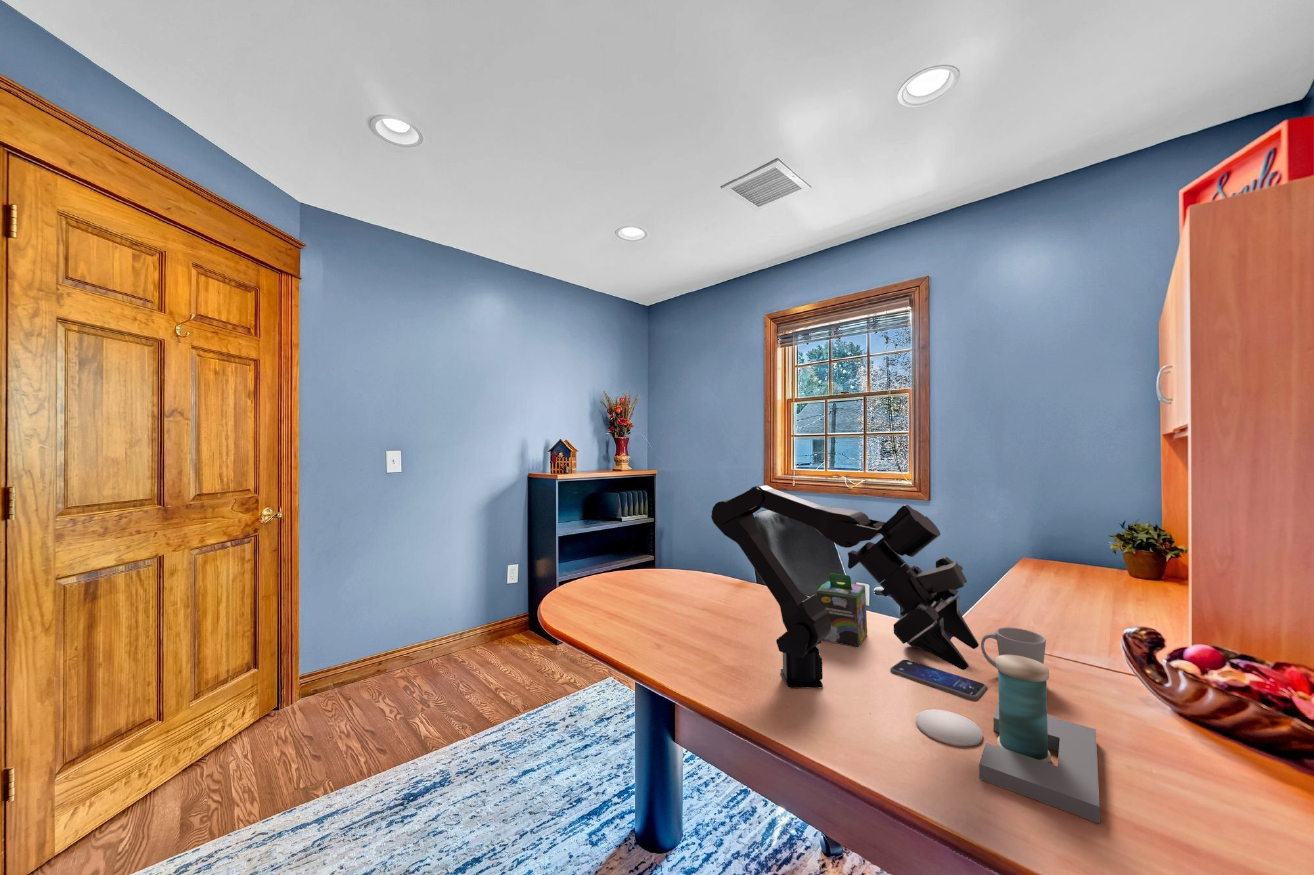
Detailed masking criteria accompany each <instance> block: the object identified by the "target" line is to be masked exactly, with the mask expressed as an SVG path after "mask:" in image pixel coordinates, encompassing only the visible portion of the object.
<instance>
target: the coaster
mask: <svg viewBox="0 0 1314 875" xmlns="http://www.w3.org/2000/svg"><path fill="white" fill-rule="evenodd" d="M915 724H916V726H917V728H918V729H919V730H921V732H923V733H924V734H925V735H926V736H928V737H930V738H931V739H933V740H936V741H938V742H941V743H944V744H947V745H951V746H956V747H973V746H977V745H979V744H980V743H981V742H982V741H983V731H982V729H981V728H980V726H979V725H978V724H976V723H975V721H973V720H970V719H969V718H967V717H965V716H963V715H960V714H958V713H955V712H952V711H948V710H944V709H943V710H942V709H933V708H932V709H925V710H922V711H919V712H918V713H917V714H916V715H915Z"/></svg>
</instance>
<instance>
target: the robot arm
mask: <svg viewBox="0 0 1314 875" xmlns="http://www.w3.org/2000/svg"><path fill="white" fill-rule="evenodd" d="M761 509H764V510H767V511H771V512H772V513H776V514H778V515H781V516H784V517H786V518H789V519H791V520H793V521H796V522H799V523H802V524H804V525H807V526H809V527H811V528H813V529H815V530H816V531H817V532H818V533H819V534H820V535H821V536H823V537H824V538H825V539H827V540H829V541H830V542H832V543H834V544H836V545H837V546H839V547H841V548H845V549H846V548H847V549H848V548H849V549H850V548H852V547H855V546H857V545H859V544H861V543H864V542H865V541H868V542H866V543H865V544H863V546H861V547H860V548H859V549H858V550H853V549H852V550H851V551H849V552H847V557H848V560H847V567H848V569H850V570H851V569H853V568H854V567H855V568H856V566H858V565H862V567H863V568H864V569H865V570H866V571H867V572H868V574H869V575H870V576H871V577H872V578H873V579H874V580H875V581H876V582H877V583H878V584H879V585H880V587H882V588H883V589H882V590H881V591H880V593H881V594H882V595H883V596H884V597H887V596H889V597H890V598H892V599H893V601H894V602H895V603H896V604H897V605H898V606H899V607H900V608H901V611H900V613H899V614H900V615H901V617H899V618H898V619H897V621H895V623H894V624H893V634H894V636H896V638H897V639H898V640H899V641H900V642H901V643H902V644H907V645H909V646H910V647H913V646H912V645H914V646H916V647H915V648H917V647H918V648H917V649H920V650H923V651H924V652H927V653H929V654H931V655H933V656H935V657H937V658H939V659H941V660H943V661H945V662H947V663H948V664H950V665H952V666H954V667H955V668H958V669H960V670H962V671H965V670H966V669H969V667H970V665H969V663H968V661H967V660H966V659H965V657H964V656H963V655H962V653H961V652H960V650H959V649H958V648H957V647H956V645H955V644H954V643H953V641H952V639H951V640H950V639H949V638H948V636H947V635H946V634H945V632H944V630H945V631H946V632H948V633H949V634H951V635H952V636H954V637H953V638H955V639H957V640H958V641H960V642H961V643H963V644H964V645H966V646H968V647H969V648H971V649H973V650H975V649H977V648H978V647H979V646H980V644H979V642H978V641H977V639H976V636H974V633H973V632H972V631H971V629H970V627H969V626H968V624H967V622H966V621H965V619H964V617H963V616H962V614H961V612H960V597H961V596H959V595H958V593H959V592H960V591H959V590H958V589H962V588H963V587H965V583H968V580H967V578H966V576H965V575H964V572H963V570H964V569H963V566H962V565H959V563H958V562H957V561H953V560H951V559H950V558H949V557H947V556H943V557H941V558H938V559H937V560H936V561H935V567H932V568H929V569H927V570H925V571H923V570H922V569H921V568H920V567H919V566H918V565H917V566H916V565H913V566H910V565H909V563H907V562H906V561H905V560H904V559H903V556H904V557H905V556H908V557H910V558H914V557H915V556H916V555H918V554H919V553H920V552H921V551H922V550H923V549H925V548H926V547H927V546H929V545H930V544H932V543H933V542H934V541H935V540H936V539H937V538H939V537H940V536H941V532H940V530H939V528H938V527H937V525H936V524H935V523H934V522H933V521H932V519H930V518H929V517H928V516H925V515H924V514H922V513H921V512H919V511H918V510H916V509H914V508H913V507H911V506H910V504H903V505H902V506H901V507H899V509H897V511H896V512H895V514H894V515H893V516H891V517H890V518H889V519H888V520H887V521H882V520H878V519H873V518H869V516H868V515H867V514H866V513H864V512H862V511H861V510H860V511H859V510H854V509H850V508H849V509H848V508H843V507H842V508H841V507H833V506H831V507H830V506H823V505H820V504H818V503H815V502H812V501H809V500H807V499H804V498H801V497H799V496H798V497H797V496H795V495H792V494H790V493H786V492H783V491H780V490H778V489H775V488H773V487H771V486H769V485H766V484H762V485H755V486H752V487H751V488H750V489H748V490H746V491H745V492H743V493H741V494H739V495H737V496H735V497H733V498H730V499H729V500H728V499H727V500H722V501H718V502H716V503H715V504H714V505H713V506H712V509H711V516H710V517H711V521H712V523H713V524H714V525H715V526H716V527H717V528H718V530H719V531H720V532H721V534H723V535H724V536H725V537H727V538H728V539H729V540H731V541H733V542H735V544H737V545H738V546H739V548H740V549H741V551H742V552H743V554H744V555H745V556H746V559H747V560H748V561H749V563H750V564H751V566H752V567H753V568H754V570H755V572H756V573H757V574H758V576H759V577H760V579H761V580H762V581H763V583H764V585H765V586H766V588H767V589H768V590H769V592H770V593H771V595H772V596H773V598H774V599H775V601H776V602H777V604H778V605H779V609H780V614H781V619H782V623H783V625H784V627H785V630H786V631H785V632H784V633H783V634H781V636H779V637H778V638H777V639H776V640H775V642H776V645H777V649H778V651H779V652H780V653H782V668H781V669H780V674H781V676H782V679H783V680H784V682H785V684H786V686H787V687H788V688H789V689H791V688H792V689H793V688H794V689H795V688H796V689H799V688H800V689H801V688H802V689H804V688H805V689H807V688H814V689H815V688H816V689H817V688H818V689H819V688H821V689H822V688H823V687H824V683H823V682H822V680H823V677H824V676H823V674H824V673H823V657H822V656H821V655H820V649H819V648H818V647H817V646H818V645H820V644H822V641H824V640H823V639H824V638H825V637H826V636H827V635H828V634H829V633H830V630H831V620H830V618H829V616H828V615H827V614H828V613H829V611H828V610H826V609H825V608H824V607H823V605H822V604H821V602H820V600H819V598H818V597H817V594H812V595H811V596H808V595H806V594H804V593H803V592H802V591H800V590H801V589H799V588H798V587H797V585H796V584H795V582H794V581H793V580H792V578H791V577H790V575H789V574H788V573H787V571H786V569H785V568H784V566H782V563H780V561H779V560H778V558H777V557H776V556H775V554H774V552H773V551H772V550H771V548H770V547H769V546H768V544H767V543H766V541H765V540H764V539H763V537H762V536H761V534H760V533H759V531H758V529H757V523H756V517H755V515H754V514H755V513H756V512H758V511H760V510H761ZM879 536H883V537H881V538H880V539H879V540H878V541H877V542H875V543H874V542H871V541H872V540H873V539H875V538H877V537H879ZM951 597H952V598H953V599H951ZM910 639H911V640H910ZM909 640H910V642H909V643H907V642H908V641H909Z"/></svg>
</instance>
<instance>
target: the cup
mask: <svg viewBox="0 0 1314 875" xmlns="http://www.w3.org/2000/svg"><path fill="white" fill-rule="evenodd" d="M989 639H994V640H996V643H997V644H996V645H997V651H998V656H1000V655H1017V656H1022V657H1026V658H1030V659H1033V660H1036V661H1038V662H1040V663H1042V664H1044V665H1045V656H1046V654H1045V653H1046V644H1047V639H1046V638H1045V637H1044V636H1043V635H1041V634H1040V633H1037V632H1034V631H1032V630H1028V629H1023V628H1019V627H998V628H997V629H995V632H990V633H987V634H984V635H983V636H982V638H981V641H980V649H981V653H982V655H983V656H984V658H985V660H986V661H987V662H988V663H989V664H990V665H991V666H992V667H994V668H996V660H994V659H993V658H991V657H990V656H989V655H988V654H987V652H986V650H985V642H986V640H989Z"/></svg>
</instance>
